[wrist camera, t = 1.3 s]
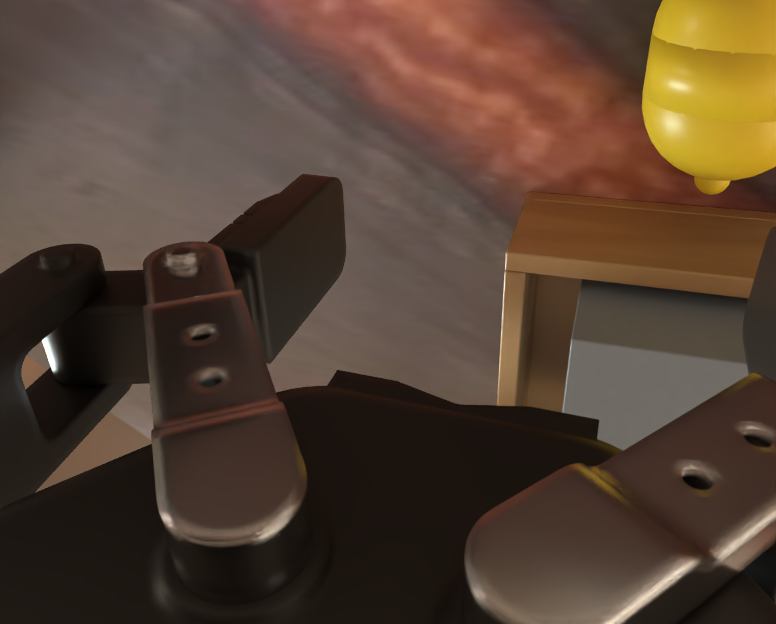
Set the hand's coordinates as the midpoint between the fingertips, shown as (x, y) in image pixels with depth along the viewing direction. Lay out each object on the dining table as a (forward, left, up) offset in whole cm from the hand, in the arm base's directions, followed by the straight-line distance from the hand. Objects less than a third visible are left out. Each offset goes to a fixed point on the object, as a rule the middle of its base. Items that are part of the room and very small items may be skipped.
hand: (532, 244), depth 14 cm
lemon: (0, +5, -17) cm, 17 cm away
